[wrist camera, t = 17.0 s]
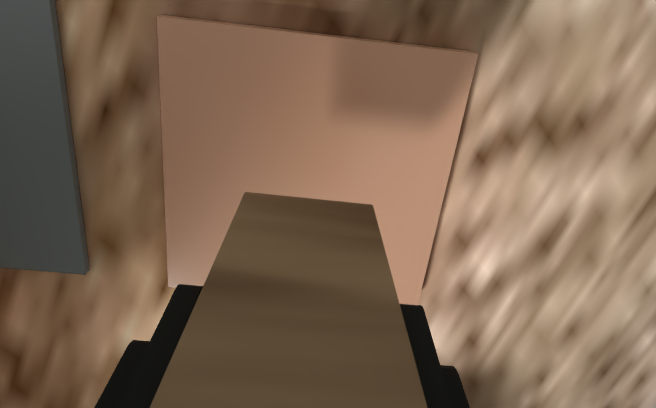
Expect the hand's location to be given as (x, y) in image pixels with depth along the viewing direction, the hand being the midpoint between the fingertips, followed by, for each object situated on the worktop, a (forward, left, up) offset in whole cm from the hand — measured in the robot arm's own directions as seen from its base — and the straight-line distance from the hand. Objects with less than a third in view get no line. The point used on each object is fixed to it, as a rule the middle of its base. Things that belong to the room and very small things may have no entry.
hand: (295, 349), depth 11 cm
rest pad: (0, 0, -11) cm, 11 cm away
